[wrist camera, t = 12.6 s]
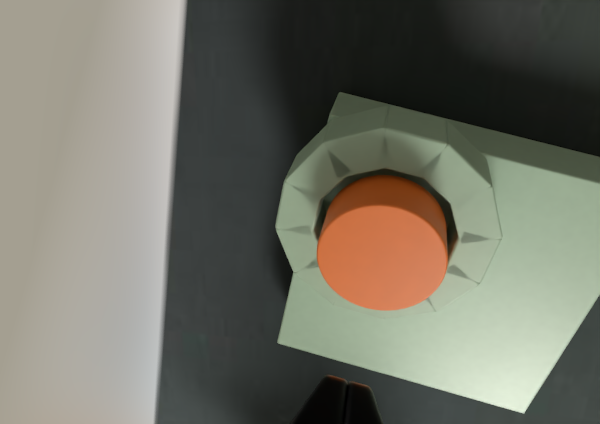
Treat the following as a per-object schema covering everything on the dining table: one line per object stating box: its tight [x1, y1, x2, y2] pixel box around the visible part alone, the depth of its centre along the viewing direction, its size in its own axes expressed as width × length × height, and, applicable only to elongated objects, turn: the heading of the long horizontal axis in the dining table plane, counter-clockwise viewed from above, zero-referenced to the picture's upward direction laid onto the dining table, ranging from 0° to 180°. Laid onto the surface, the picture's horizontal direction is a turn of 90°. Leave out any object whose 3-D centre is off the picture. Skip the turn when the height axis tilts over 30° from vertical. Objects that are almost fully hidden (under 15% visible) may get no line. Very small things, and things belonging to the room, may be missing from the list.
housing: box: [275, 92, 600, 413], centre depth 19 cm, size 11×11×4 cm
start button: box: [317, 175, 448, 311], centre depth 16 cm, size 4×4×2 cm
